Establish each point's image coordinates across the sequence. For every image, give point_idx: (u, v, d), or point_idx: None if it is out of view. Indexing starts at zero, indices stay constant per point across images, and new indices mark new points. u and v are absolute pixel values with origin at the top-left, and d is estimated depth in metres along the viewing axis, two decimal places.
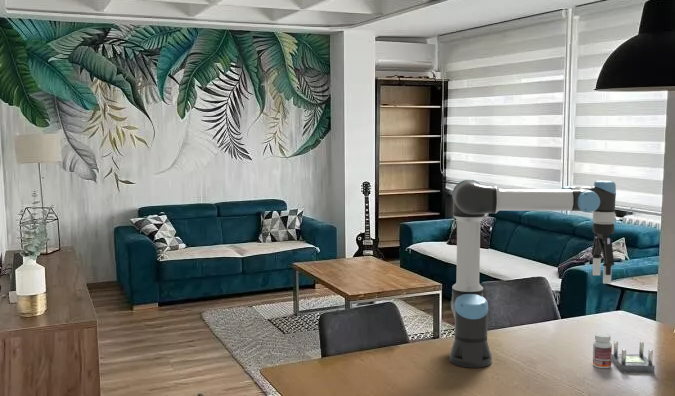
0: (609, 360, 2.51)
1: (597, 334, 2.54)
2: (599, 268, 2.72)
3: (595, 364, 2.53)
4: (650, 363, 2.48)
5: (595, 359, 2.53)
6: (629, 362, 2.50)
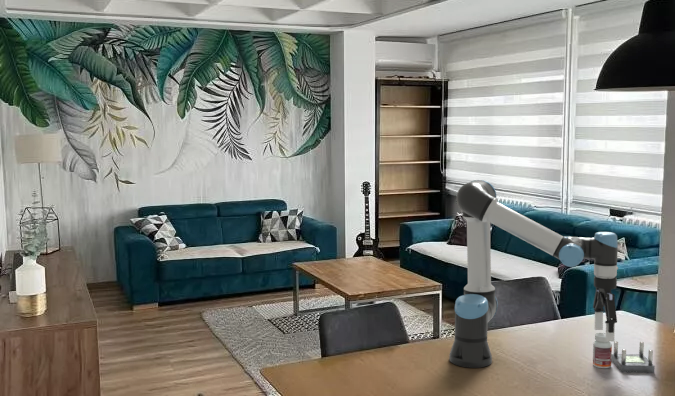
0: (609, 360, 2.51)
1: (597, 334, 2.54)
2: (601, 322, 2.59)
3: (595, 364, 2.53)
4: (650, 363, 2.48)
5: (595, 359, 2.53)
6: (629, 362, 2.50)
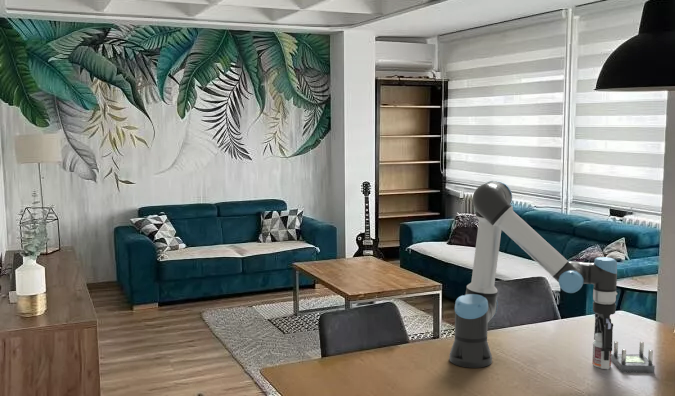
0: None
1: (597, 334, 2.54)
2: None
3: (595, 364, 2.53)
4: (650, 363, 2.48)
5: (595, 359, 2.53)
6: (629, 362, 2.50)
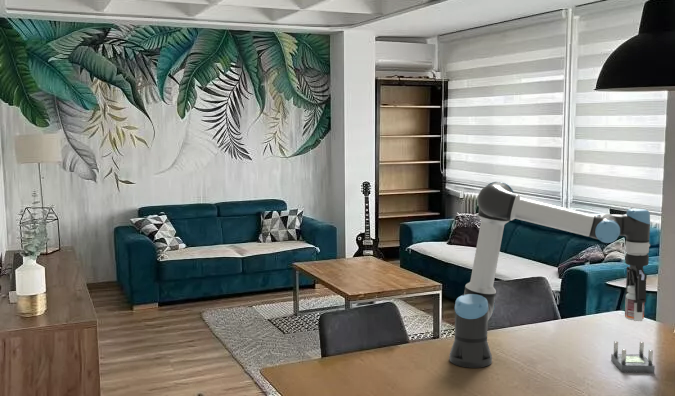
0: None
1: (629, 286, 2.51)
2: None
3: (627, 316, 2.50)
4: (650, 363, 2.48)
5: (627, 312, 2.50)
6: (629, 362, 2.50)
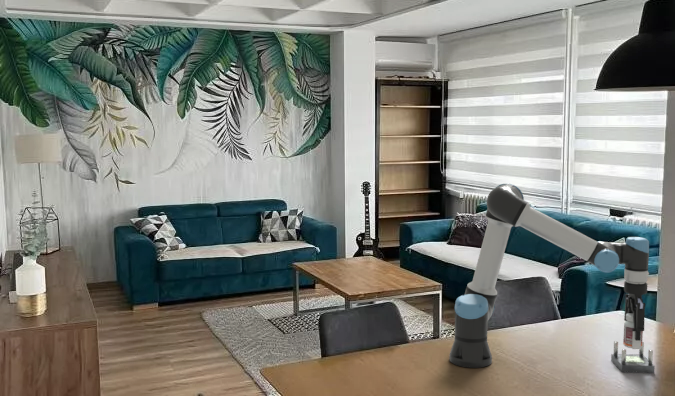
0: None
1: (628, 314, 2.52)
2: None
3: (626, 344, 2.51)
4: (650, 363, 2.48)
5: (626, 339, 2.51)
6: (629, 362, 2.50)
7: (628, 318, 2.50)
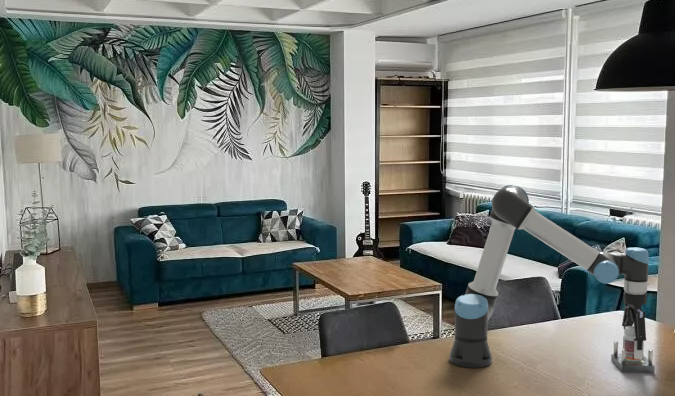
0: None
1: (627, 327, 2.53)
2: None
3: None
4: (650, 363, 2.48)
5: None
6: (629, 362, 2.50)
7: (627, 331, 2.51)
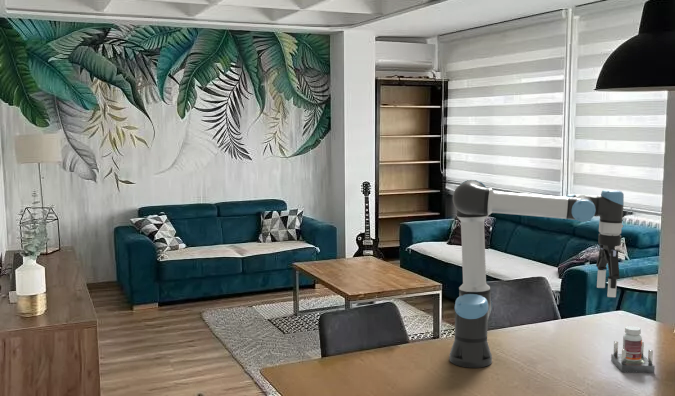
0: (639, 353, 2.50)
1: (627, 327, 2.53)
2: (604, 280, 2.62)
3: None
4: (650, 363, 2.48)
5: None
6: (629, 362, 2.50)
7: (627, 331, 2.51)
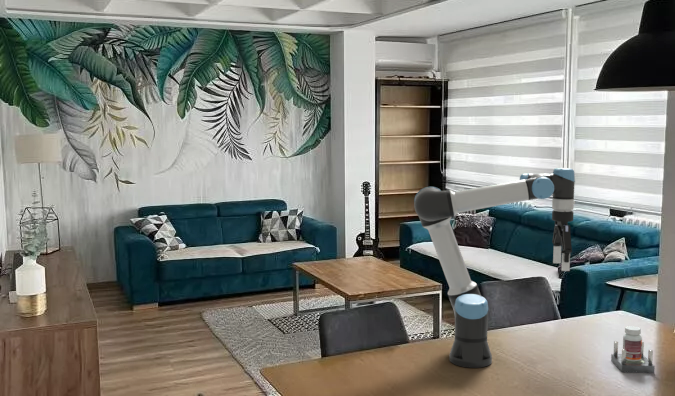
0: (639, 353, 2.50)
1: (627, 327, 2.53)
2: (559, 256, 2.71)
3: None
4: (650, 363, 2.48)
5: None
6: (629, 362, 2.50)
7: (627, 331, 2.51)
